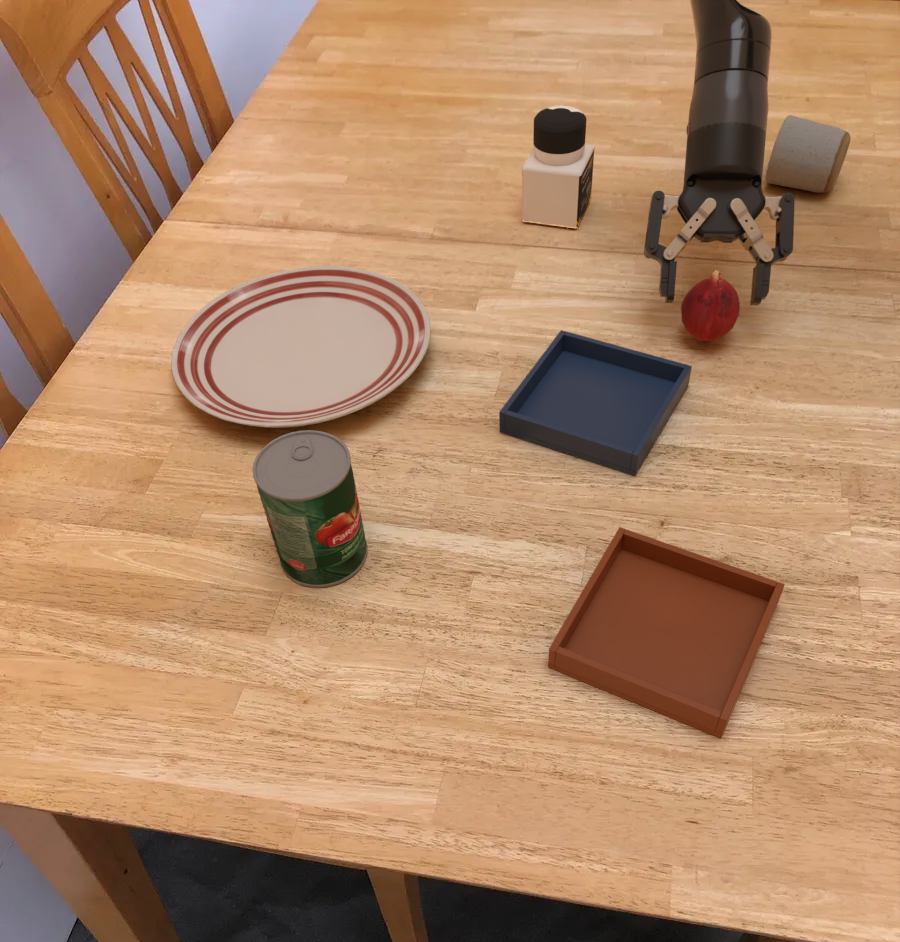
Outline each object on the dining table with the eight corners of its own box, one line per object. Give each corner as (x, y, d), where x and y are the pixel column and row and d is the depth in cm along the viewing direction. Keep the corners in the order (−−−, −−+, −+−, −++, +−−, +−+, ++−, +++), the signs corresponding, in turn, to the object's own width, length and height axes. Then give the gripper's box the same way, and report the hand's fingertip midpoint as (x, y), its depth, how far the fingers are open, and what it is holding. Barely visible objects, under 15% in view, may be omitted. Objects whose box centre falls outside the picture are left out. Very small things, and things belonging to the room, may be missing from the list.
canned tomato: (368, 583, 80) (351, 493, 71) (278, 592, 80) (249, 503, 71) (366, 516, 85) (350, 425, 76) (281, 525, 85) (254, 434, 76)
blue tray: (688, 386, 93) (692, 365, 91) (635, 476, 86) (638, 455, 84) (560, 350, 98) (560, 329, 96) (499, 432, 91) (499, 411, 89)
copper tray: (777, 603, 76) (785, 583, 74) (721, 738, 69) (727, 721, 67) (616, 546, 81) (619, 526, 79) (547, 667, 73) (548, 648, 71)
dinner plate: (127, 416, 95) (116, 390, 93) (256, 270, 111) (250, 245, 108) (368, 475, 88) (363, 449, 85) (470, 310, 103) (469, 284, 101)
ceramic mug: (827, 206, 112) (845, 142, 106) (760, 193, 115) (774, 130, 109) (845, 166, 118) (864, 103, 112) (781, 155, 121) (795, 93, 115)
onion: (742, 350, 96) (758, 282, 90) (691, 362, 96) (703, 295, 89) (716, 318, 100) (730, 251, 94) (667, 330, 99) (677, 263, 93)
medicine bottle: (577, 231, 112) (583, 130, 103) (521, 223, 114) (521, 124, 104) (591, 200, 116) (598, 101, 107) (536, 194, 118) (538, 96, 108)
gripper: (656, 118, 88) (644, 293, 90) (811, 119, 87) (794, 297, 89) (649, 147, 96) (638, 308, 98) (791, 147, 94) (776, 311, 96)
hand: (712, 302), depth 93 cm, fingers open, 8 cm apart
